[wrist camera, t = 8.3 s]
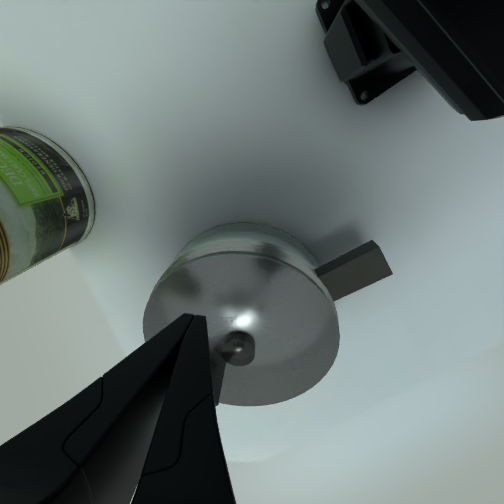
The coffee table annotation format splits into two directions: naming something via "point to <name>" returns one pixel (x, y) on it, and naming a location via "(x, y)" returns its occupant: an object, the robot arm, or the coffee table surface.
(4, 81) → the coffee table surface
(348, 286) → the pot
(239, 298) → the lid
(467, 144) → the coffee table surface
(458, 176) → the coffee table surface
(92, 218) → the coffee can
